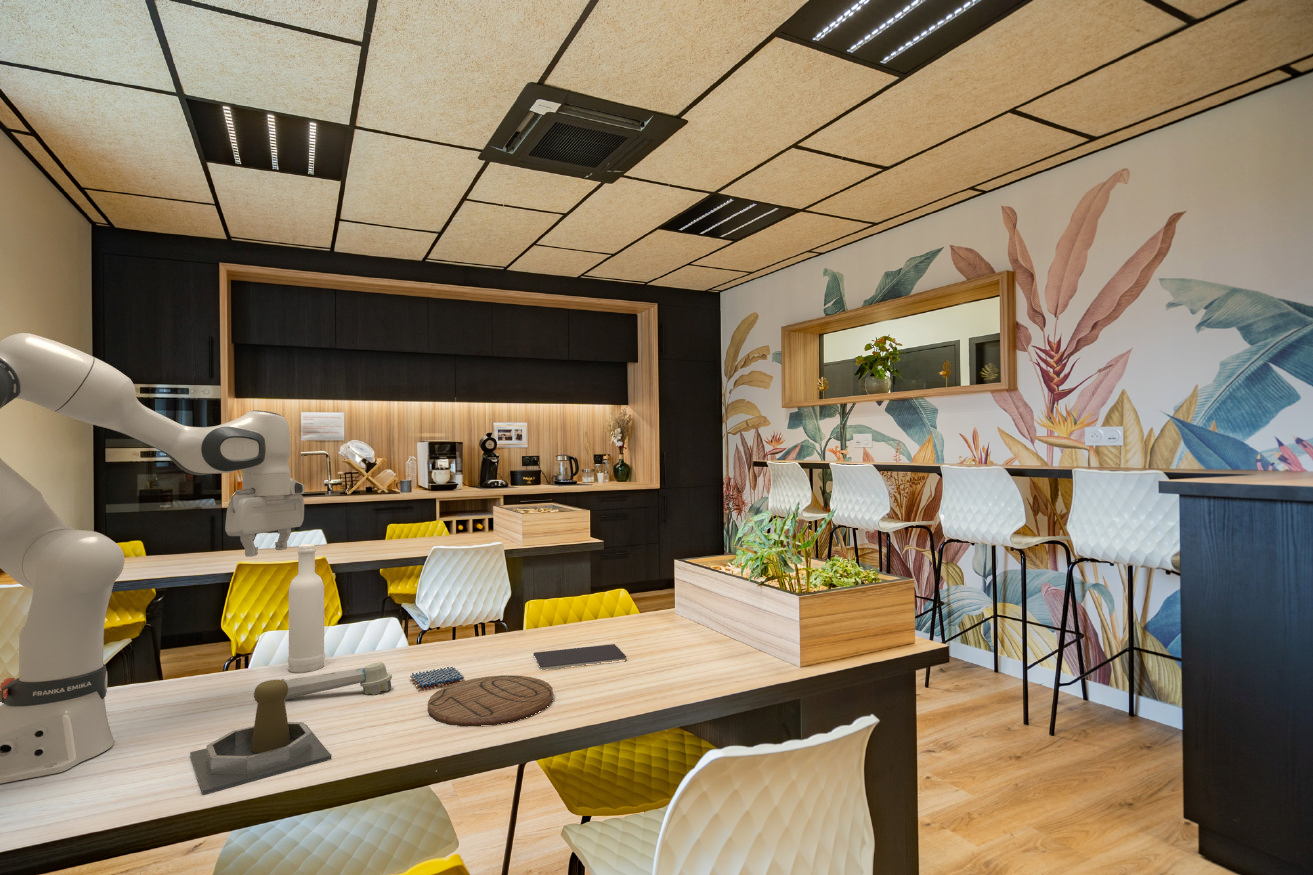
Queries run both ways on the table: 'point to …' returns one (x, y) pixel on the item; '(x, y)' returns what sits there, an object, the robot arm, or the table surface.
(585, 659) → the notebook
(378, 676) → the toothbrush head
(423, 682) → the woven mat
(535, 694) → the trivet
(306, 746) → the duct collar
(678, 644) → the table surface
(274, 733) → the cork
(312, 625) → the bottle
